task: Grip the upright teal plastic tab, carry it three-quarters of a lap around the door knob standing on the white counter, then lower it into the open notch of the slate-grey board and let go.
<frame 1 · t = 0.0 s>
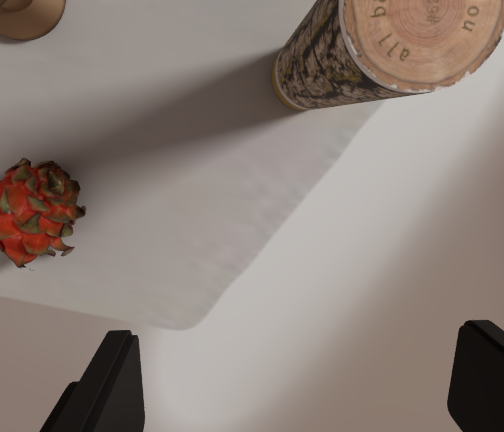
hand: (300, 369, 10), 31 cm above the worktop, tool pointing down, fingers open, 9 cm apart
dragon fruit: (52, 206, 40), on the worktop
paper tube: (302, 77, 38), on the worktop
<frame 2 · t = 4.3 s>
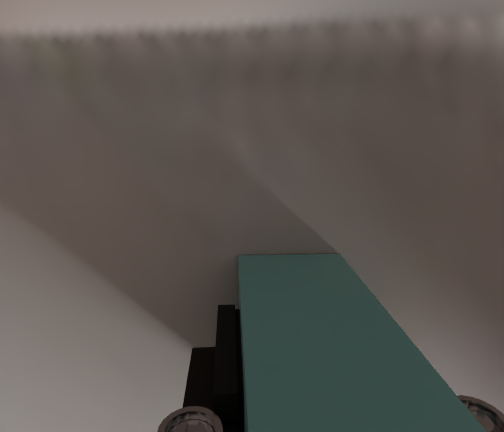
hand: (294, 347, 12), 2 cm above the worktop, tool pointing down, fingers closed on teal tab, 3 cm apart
teal tab: (287, 319, 13), on the worktop, touching gripper
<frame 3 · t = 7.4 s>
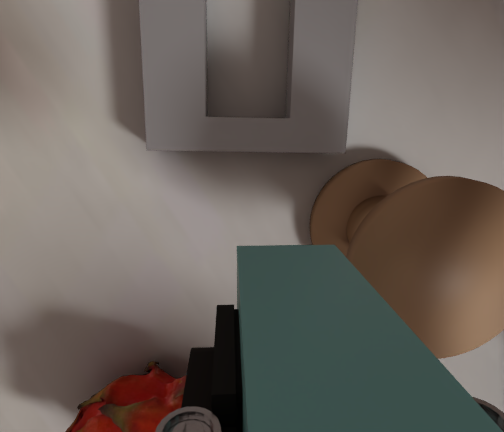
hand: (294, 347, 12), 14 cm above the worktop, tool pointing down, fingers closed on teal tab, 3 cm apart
door knob: (372, 223, 26), on the worktop
teal tab: (284, 309, 14), point 12 cm above the worktop, touching gripper
dragon fruit: (152, 394, 29), on the worktop
notched board: (247, 67, 23), on the worktop
when the fingers open (3 cm above the worktop, at t = 10.4 s): teal tab drops 1 cm, resting in notched board.
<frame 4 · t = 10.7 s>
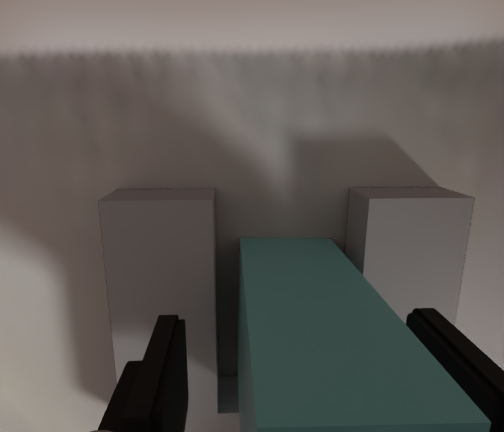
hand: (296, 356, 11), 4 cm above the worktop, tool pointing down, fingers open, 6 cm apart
teal tab: (282, 297, 15), resting in notched board
notched board: (280, 310, 15), on the worktop
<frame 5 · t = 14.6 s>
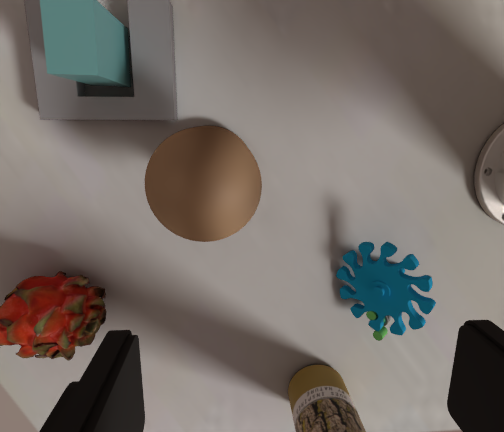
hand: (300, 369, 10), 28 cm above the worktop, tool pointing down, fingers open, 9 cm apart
door knob: (209, 171, 37), on the worktop
teal tab: (110, 57, 34), resting in notched board
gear: (368, 276, 41), on the worktop
dragon fruit: (65, 299, 40), on the worktop
notched board: (110, 64, 34), on the worktop
paper tube: (314, 384, 44), on the worktop
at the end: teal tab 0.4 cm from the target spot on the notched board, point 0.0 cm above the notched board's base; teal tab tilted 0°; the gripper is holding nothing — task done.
